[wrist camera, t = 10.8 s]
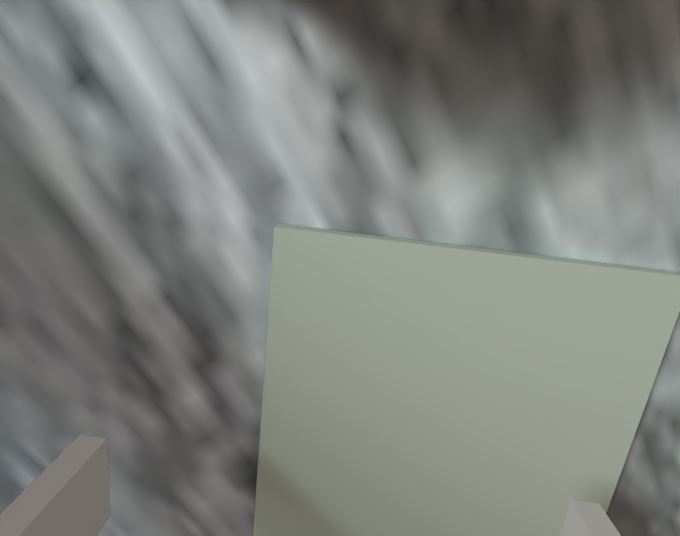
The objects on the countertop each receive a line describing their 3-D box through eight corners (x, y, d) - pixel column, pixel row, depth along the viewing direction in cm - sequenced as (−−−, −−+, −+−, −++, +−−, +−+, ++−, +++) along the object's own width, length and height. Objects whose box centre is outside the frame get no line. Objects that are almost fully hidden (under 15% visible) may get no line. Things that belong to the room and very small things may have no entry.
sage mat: (255, 533, 18) (252, 545, 18) (277, 224, 14) (274, 226, 14) (571, 576, 18) (578, 590, 17) (678, 272, 14) (692, 277, 14)
